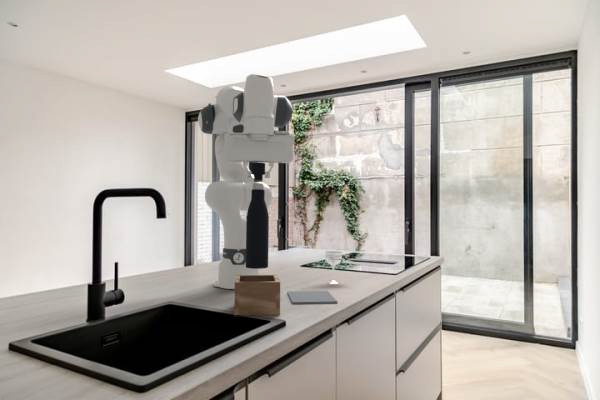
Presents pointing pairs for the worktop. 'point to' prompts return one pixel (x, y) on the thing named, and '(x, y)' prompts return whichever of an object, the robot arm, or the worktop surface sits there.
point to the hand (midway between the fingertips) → (258, 177)
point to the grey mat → (311, 297)
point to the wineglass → (333, 261)
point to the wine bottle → (257, 223)
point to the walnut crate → (257, 295)
